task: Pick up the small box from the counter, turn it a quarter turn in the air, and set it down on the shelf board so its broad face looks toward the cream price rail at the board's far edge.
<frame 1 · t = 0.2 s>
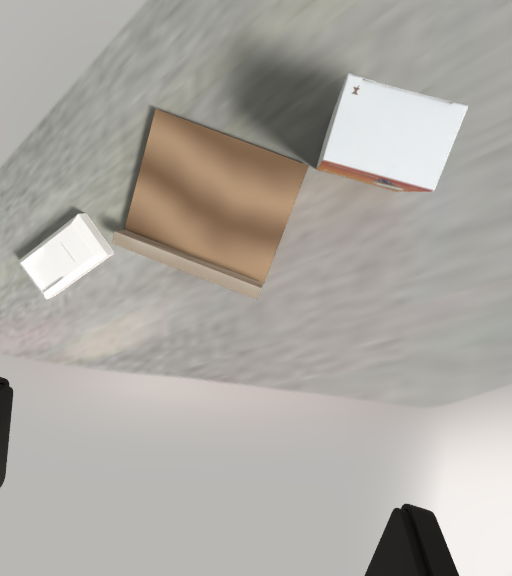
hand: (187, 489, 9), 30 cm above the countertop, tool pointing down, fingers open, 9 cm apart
soap bar: (73, 255, 42), on the countertop
small box: (366, 151, 35), on the countertop
shelf board: (212, 204, 38), on the countertop
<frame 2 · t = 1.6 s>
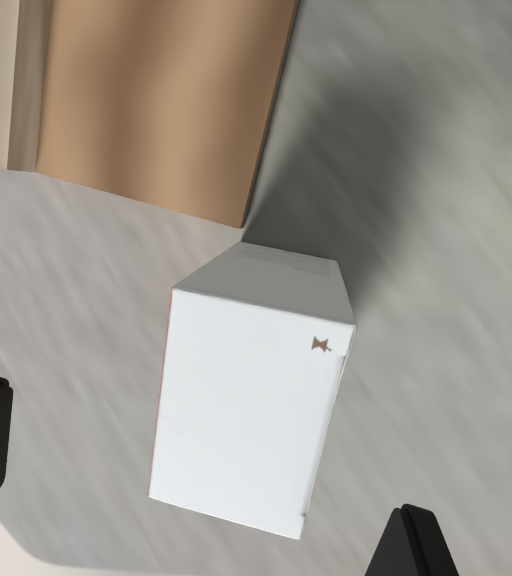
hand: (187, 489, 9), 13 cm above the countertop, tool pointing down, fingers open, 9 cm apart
small box: (275, 316, 22), on the countertop
shelf board: (157, 50, 20), on the countertop
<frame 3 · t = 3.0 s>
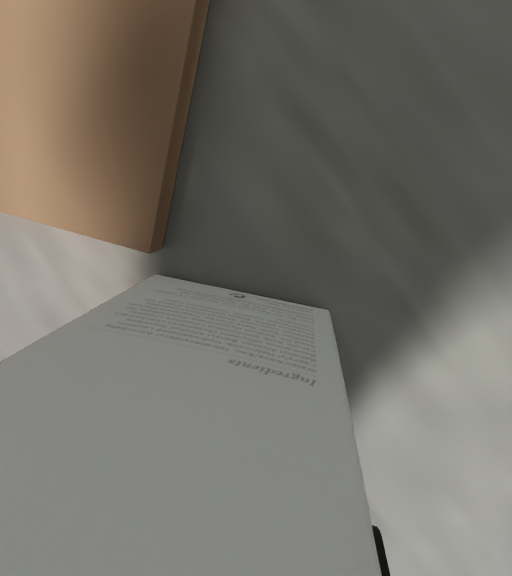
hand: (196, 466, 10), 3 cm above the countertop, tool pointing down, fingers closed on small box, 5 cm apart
small box: (224, 399, 13), on the countertop, touching gripper
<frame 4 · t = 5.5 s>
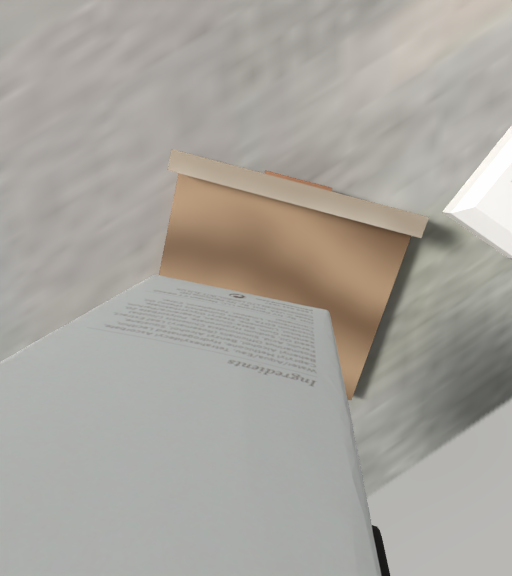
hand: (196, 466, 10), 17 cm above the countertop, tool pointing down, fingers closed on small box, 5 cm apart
small box: (224, 399, 13), point 14 cm above the countertop, touching gripper
shelf board: (272, 279, 26), on the countertop
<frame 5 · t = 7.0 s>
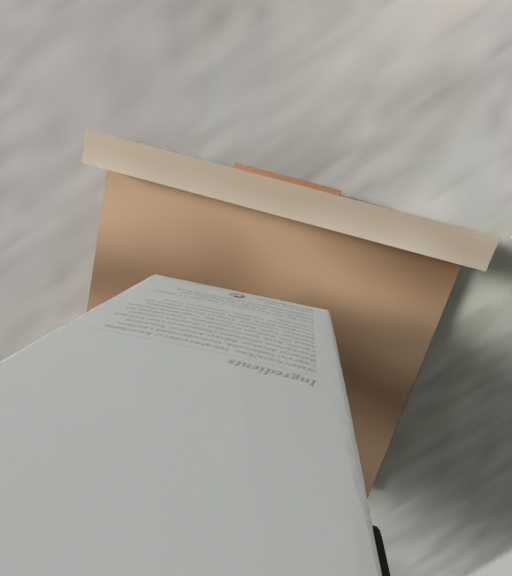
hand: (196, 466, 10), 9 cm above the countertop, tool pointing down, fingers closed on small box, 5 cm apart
small box: (224, 399, 13), point 5 cm above the countertop, touching gripper
shelf board: (251, 323, 18), on the countertop
when the fingers open (5 cm above the countertop, at t = 8.1 s): small box drops 1 cm, resting on shelf board.
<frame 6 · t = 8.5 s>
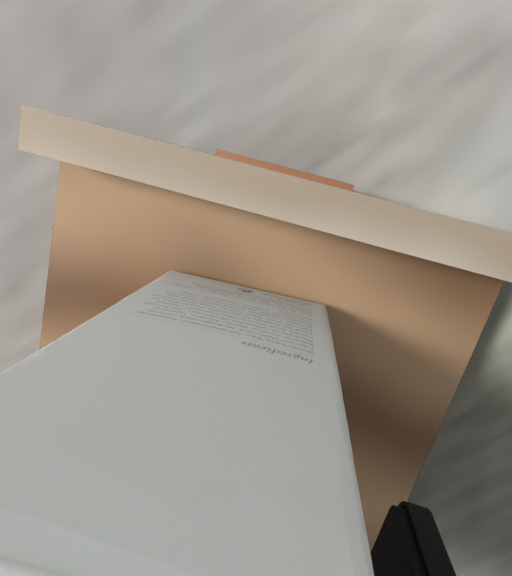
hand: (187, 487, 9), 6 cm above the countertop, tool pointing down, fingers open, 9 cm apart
small box: (230, 384, 14), point 1 cm above the countertop, touching shelf board
shelf board: (241, 347, 15), on the countertop
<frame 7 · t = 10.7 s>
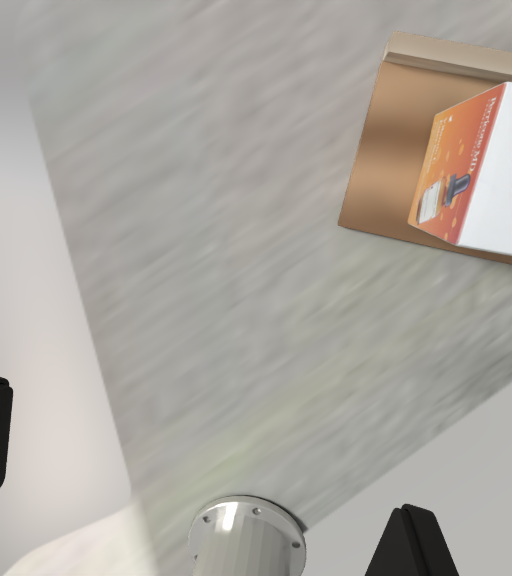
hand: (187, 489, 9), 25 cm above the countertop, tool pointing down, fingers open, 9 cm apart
small box: (456, 177, 28), point 1 cm above the countertop, touching shelf board
shelf board: (458, 161, 29), on the countertop
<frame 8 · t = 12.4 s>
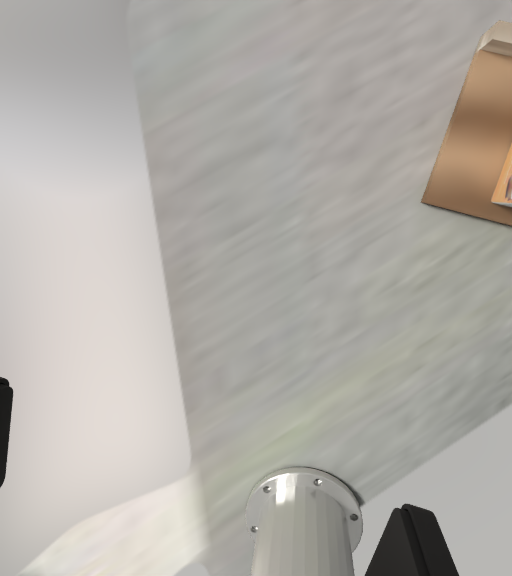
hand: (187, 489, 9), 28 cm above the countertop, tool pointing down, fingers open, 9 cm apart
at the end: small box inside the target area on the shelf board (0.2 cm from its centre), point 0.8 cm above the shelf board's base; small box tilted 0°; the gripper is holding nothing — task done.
